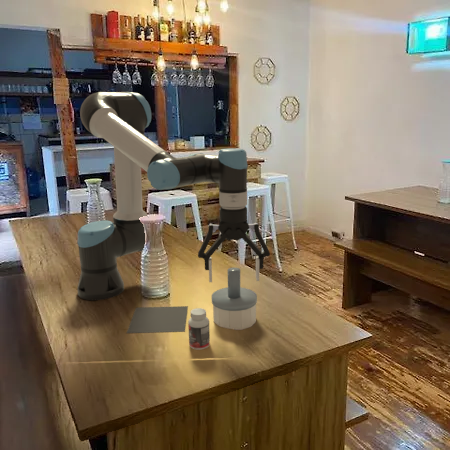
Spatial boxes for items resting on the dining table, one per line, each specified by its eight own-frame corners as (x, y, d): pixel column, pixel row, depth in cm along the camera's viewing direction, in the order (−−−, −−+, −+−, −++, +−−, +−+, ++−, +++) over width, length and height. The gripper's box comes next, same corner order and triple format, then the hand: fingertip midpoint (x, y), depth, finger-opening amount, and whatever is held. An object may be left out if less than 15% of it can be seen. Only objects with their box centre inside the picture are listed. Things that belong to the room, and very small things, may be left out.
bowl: (213, 330, 125) (213, 310, 124) (213, 310, 137) (213, 292, 136) (257, 329, 126) (257, 309, 124) (253, 309, 138) (253, 291, 136)
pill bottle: (184, 346, 118) (183, 312, 115) (199, 338, 122) (197, 304, 119) (200, 353, 114) (198, 318, 112) (214, 344, 118) (213, 310, 116)
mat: (126, 334, 124) (126, 333, 124) (136, 308, 140) (136, 307, 139) (184, 332, 124) (184, 331, 124) (188, 307, 140) (187, 306, 140)
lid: (211, 311, 123) (210, 279, 121) (211, 292, 136) (210, 262, 134) (259, 310, 124) (259, 277, 121) (254, 291, 136) (254, 261, 134)
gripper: (187, 210, 119) (189, 286, 124) (280, 208, 119) (279, 283, 125) (188, 204, 126) (191, 276, 132) (276, 202, 127) (275, 273, 132)
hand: (234, 280), depth 128 cm, fingers open, 13 cm apart
